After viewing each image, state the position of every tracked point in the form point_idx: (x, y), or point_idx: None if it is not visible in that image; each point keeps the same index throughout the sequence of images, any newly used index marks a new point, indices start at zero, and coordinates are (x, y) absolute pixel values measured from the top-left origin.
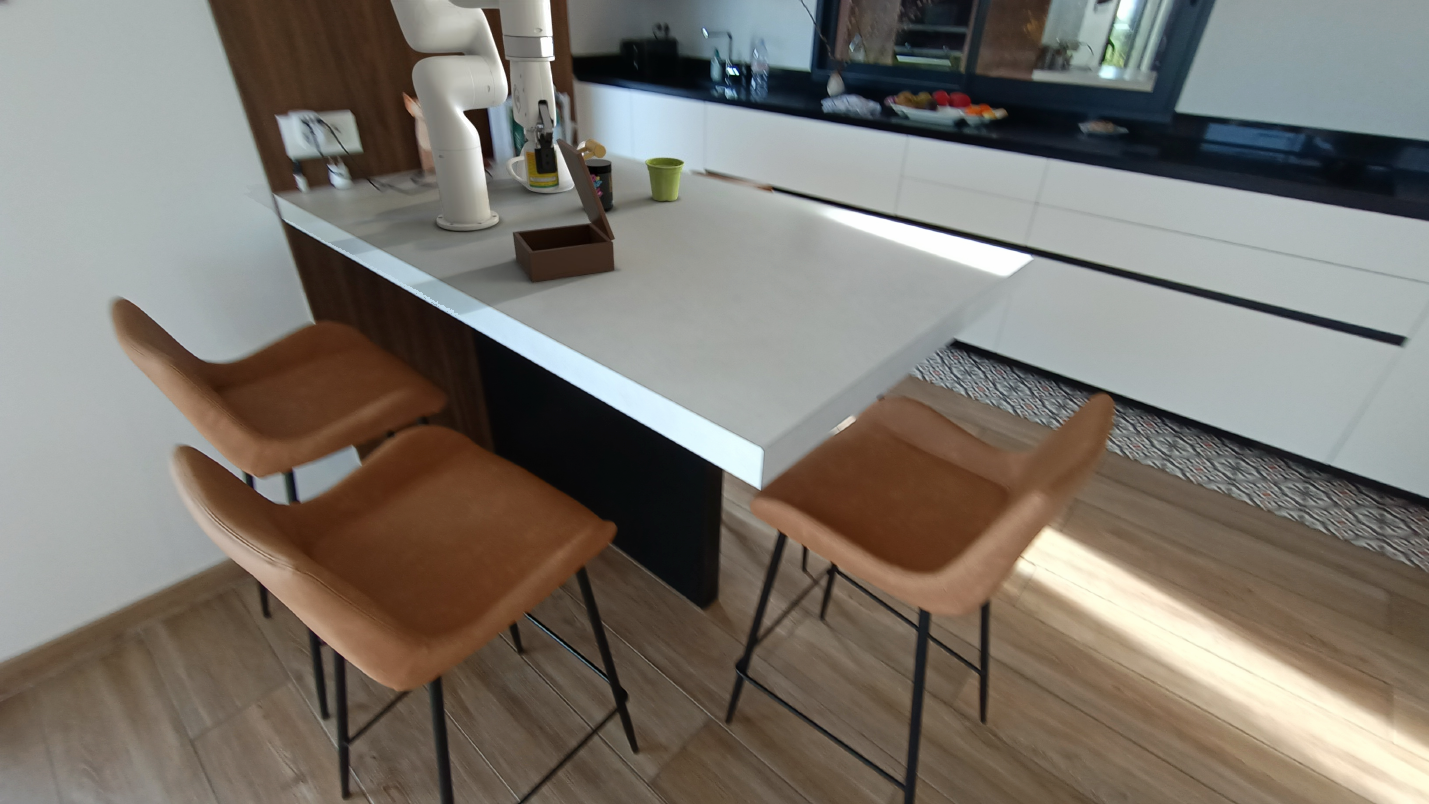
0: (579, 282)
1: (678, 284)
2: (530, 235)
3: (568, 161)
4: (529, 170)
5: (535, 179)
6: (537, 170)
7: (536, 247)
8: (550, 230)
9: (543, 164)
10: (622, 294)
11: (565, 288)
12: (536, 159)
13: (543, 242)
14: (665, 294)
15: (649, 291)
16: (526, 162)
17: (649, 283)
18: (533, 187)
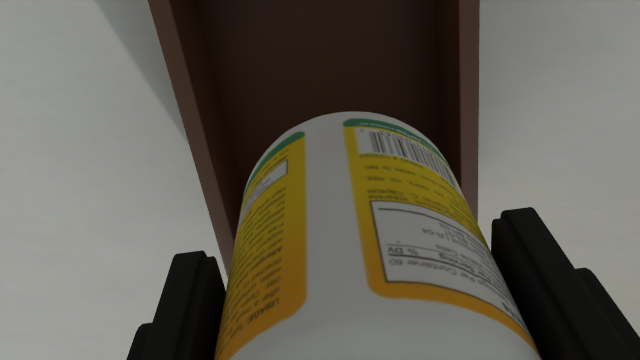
0: (152, 114)
1: (110, 348)
2: (454, 4)
3: None
4: (282, 202)
5: (252, 199)
6: (172, 267)
7: (440, 12)
8: (456, 101)
9: (135, 351)
10: (43, 215)
11: (101, 61)
12: (151, 340)
13: (446, 49)
14: (41, 310)
15: (64, 281)
16: (320, 226)
17: (124, 291)
18: (271, 150)
